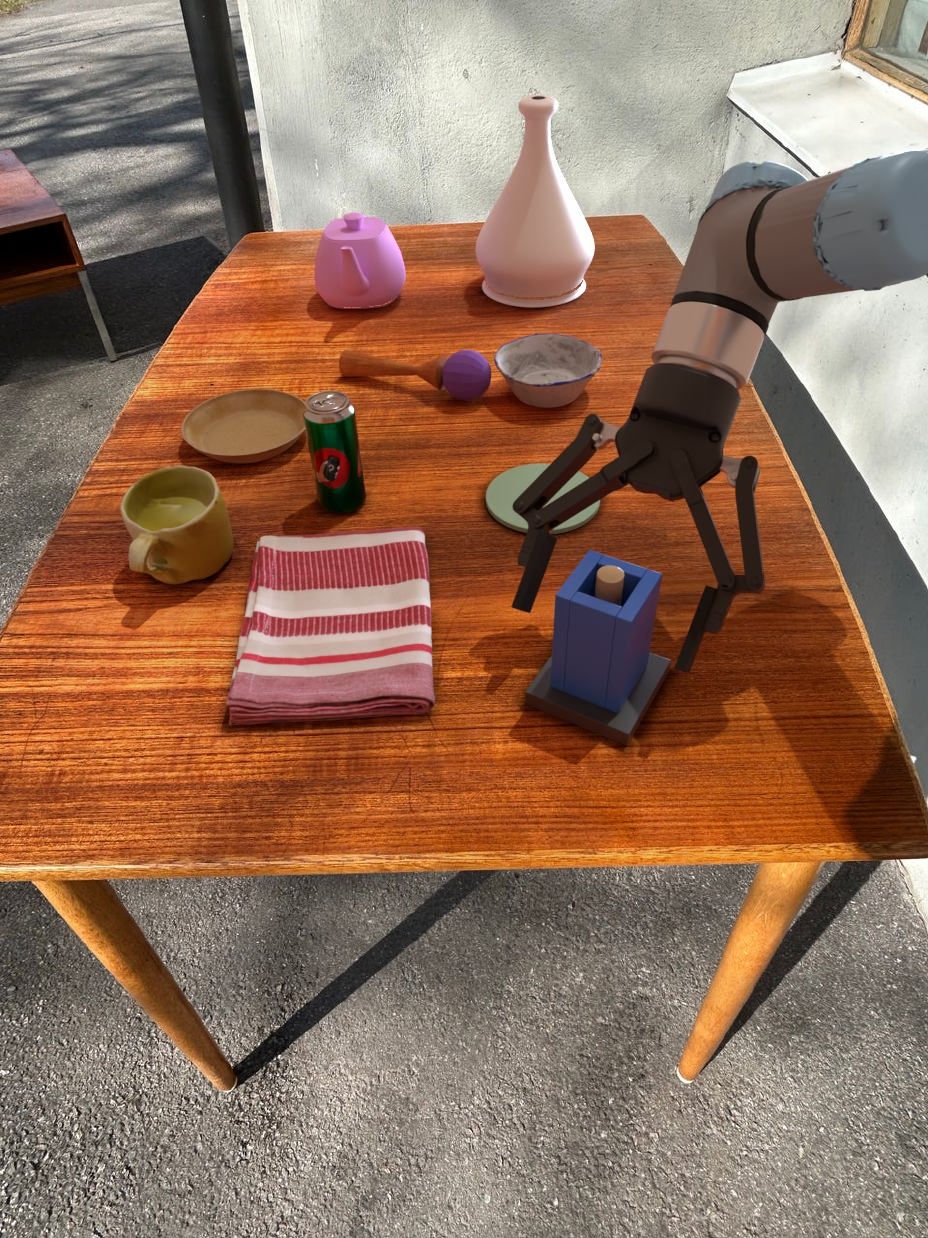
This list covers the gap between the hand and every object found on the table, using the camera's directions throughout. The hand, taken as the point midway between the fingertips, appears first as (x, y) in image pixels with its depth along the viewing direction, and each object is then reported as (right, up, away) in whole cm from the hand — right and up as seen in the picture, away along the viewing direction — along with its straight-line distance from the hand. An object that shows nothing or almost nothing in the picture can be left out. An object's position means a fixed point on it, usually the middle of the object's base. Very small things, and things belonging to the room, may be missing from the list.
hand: (597, 639), depth 67 cm
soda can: (-23, +14, +25) cm, 37 cm away
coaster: (-2, +14, +24) cm, 28 cm away
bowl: (0, +30, +41) cm, 50 cm away
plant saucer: (-35, +23, +35) cm, 55 cm away
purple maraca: (-16, +31, +42) cm, 55 cm away
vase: (0, +52, +64) cm, 82 cm away
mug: (-38, +6, +18) cm, 42 cm away
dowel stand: (+1, -4, +5) cm, 6 cm away
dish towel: (-22, +1, +11) cm, 25 cm away
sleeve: (+1, -3, +4) cm, 5 cm away
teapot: (-26, +49, +62) cm, 83 cm away
